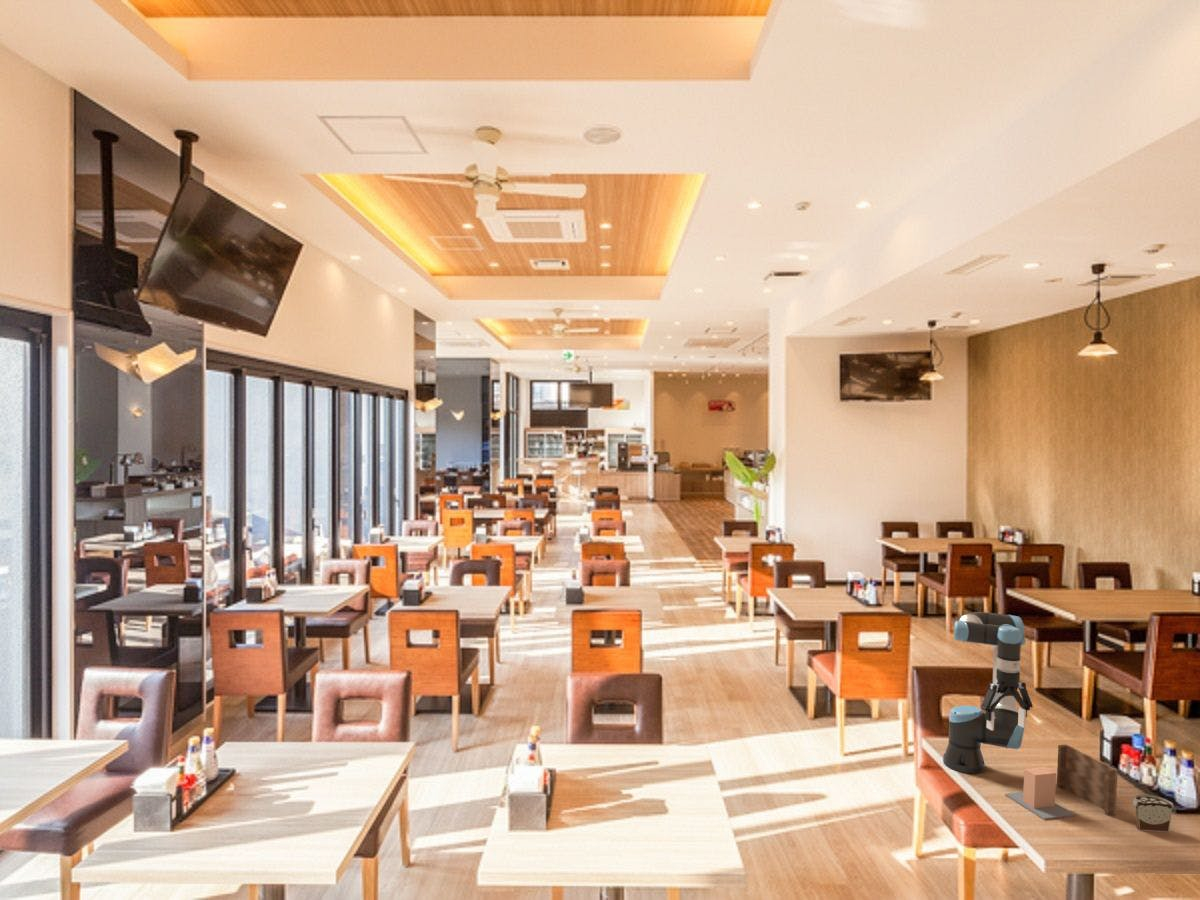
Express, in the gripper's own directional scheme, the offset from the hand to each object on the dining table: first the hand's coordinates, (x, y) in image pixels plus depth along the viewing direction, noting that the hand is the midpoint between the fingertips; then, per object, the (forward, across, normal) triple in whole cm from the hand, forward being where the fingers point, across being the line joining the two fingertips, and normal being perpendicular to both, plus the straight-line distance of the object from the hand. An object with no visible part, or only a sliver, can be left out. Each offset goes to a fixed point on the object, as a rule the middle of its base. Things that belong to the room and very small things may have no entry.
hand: (1005, 727), depth 279 cm
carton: (+26, +10, -6) cm, 29 cm away
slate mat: (+27, +10, -6) cm, 29 cm away
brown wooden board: (+27, +30, -6) cm, 41 cm away
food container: (+27, +36, -26) cm, 52 cm away
